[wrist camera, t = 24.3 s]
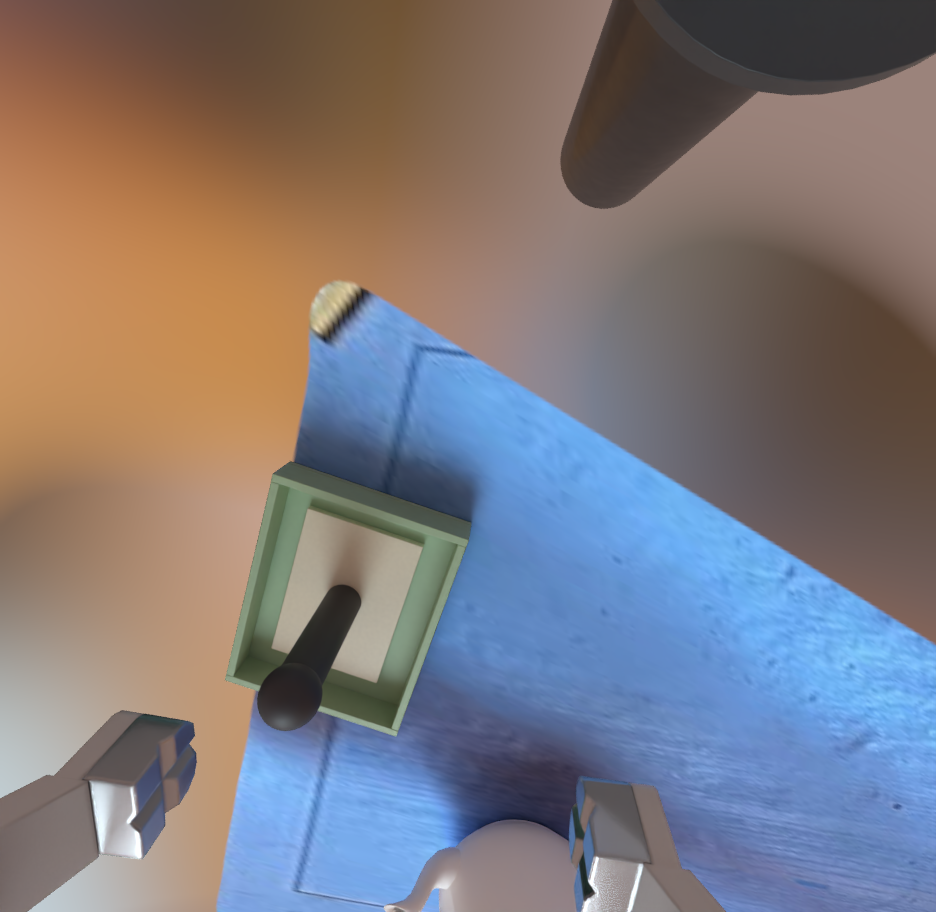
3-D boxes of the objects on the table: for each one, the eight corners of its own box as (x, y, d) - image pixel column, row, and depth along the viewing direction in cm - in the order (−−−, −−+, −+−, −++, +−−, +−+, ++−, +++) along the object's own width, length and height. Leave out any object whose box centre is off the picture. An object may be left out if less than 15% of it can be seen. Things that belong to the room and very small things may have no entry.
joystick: (310, 504, 38) (220, 596, 26) (424, 543, 39) (387, 651, 27) (273, 644, 42) (180, 779, 30) (378, 678, 42) (327, 827, 30)
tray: (290, 460, 38) (272, 473, 35) (471, 522, 38) (468, 540, 36) (243, 655, 43) (224, 680, 41) (403, 708, 44) (396, 736, 41)
